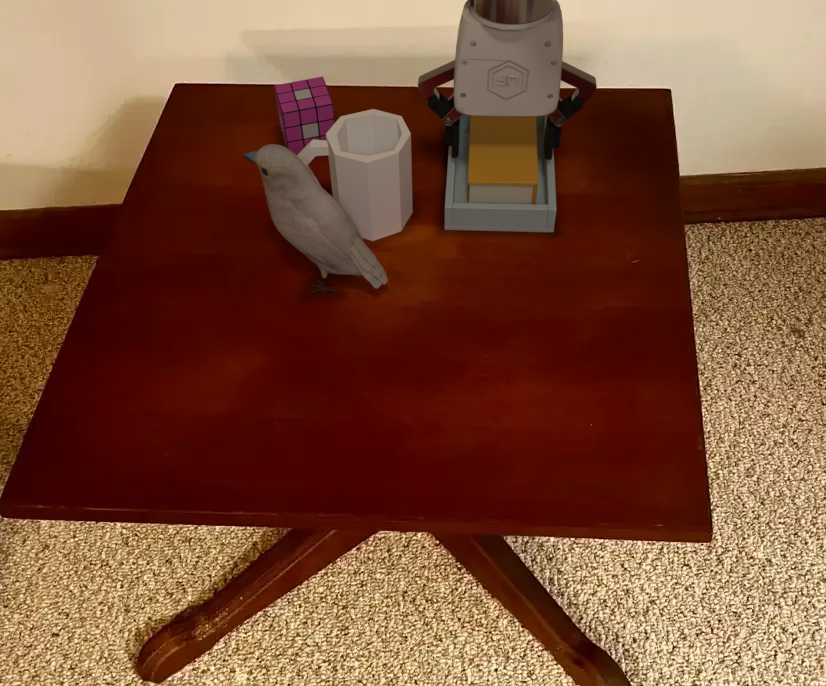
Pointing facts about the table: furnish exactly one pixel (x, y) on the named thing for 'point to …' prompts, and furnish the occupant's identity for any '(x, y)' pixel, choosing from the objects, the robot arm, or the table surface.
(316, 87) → the puzzle toy
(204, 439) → the table surface
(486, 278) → the table surface
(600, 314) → the table surface
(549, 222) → the tray
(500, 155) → the book
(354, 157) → the mug
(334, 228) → the bird
